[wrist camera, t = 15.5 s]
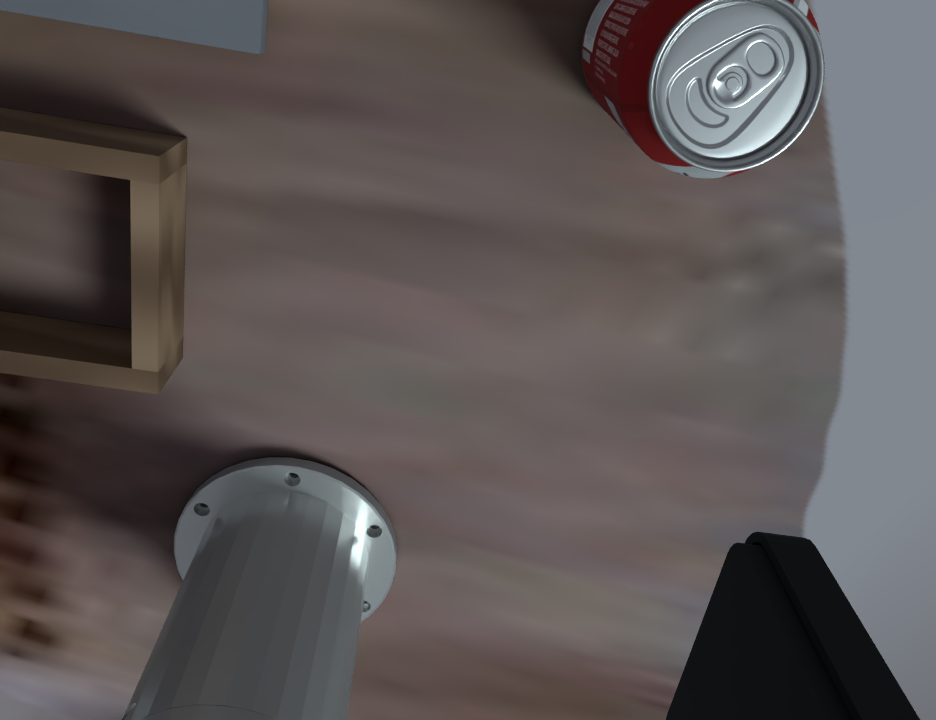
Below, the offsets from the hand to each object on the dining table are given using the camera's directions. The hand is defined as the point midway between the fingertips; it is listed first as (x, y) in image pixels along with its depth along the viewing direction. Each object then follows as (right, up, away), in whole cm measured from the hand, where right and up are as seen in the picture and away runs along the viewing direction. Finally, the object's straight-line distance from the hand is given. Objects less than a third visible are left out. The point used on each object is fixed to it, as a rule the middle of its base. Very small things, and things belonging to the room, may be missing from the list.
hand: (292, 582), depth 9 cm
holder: (-18, +8, +32) cm, 37 cm away
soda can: (+10, +16, +28) cm, 34 cm away
